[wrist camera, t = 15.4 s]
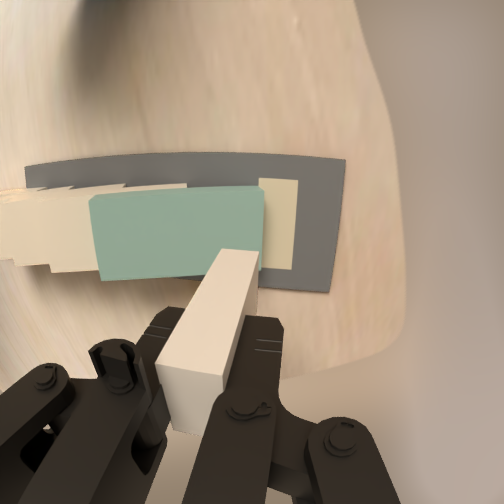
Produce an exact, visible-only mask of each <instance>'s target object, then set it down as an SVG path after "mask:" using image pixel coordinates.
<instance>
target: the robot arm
mask: <svg viewBox="0 0 504 504" xmlns="http://www.w3.org/2000/svg"><path fill="white" fill-rule="evenodd" d="M258 272H259V251H247V250H235V249H221V250H220V252H219V254H218V255H217V257H216V259H215V260H214V262H213V264H212V265H211V267H210V269H209V270H208V272H207V274H206V275H205V277H204V279H203V280H202V282H201V284H200V286H199V287H198V289H197V291H196V292H195V294H194V296H193V297H192V299H191V301H190V303H189V304H188V306H187V308H186V309H183V308H176V307H169V306H168V307H167V308H165V309H164V310H162V311H161V312H159V313H158V314H156V316H155V317H154V319H153V320H152V322H151V323H150V326H148V327H147V329H146V330H145V332H144V335H142V336H141V338H140V339H139V341H138V342H137V344H136V345H135V344H134V343H133V342H130V341H128V340H125V339H110V340H104V341H102V342H100V343H98V344H95V345H94V346H93V347H92V348H91V349H90V350H88V352H89V355H90V357H91V360H92V362H93V365H94V367H95V370H96V372H97V375H98V377H97V379H77V378H70V377H69V375H68V373H67V371H66V370H65V369H64V367H63V366H61V365H58V364H56V363H46V364H42V365H39V366H37V367H36V368H34V369H32V370H31V371H30V372H29V373H27V374H26V375H25V376H23V377H22V378H21V379H20V380H18V381H17V382H16V383H15V384H13V385H12V386H11V387H10V388H8V389H7V390H6V391H5V392H4V393H3V394H1V395H0V504H145V501H146V498H147V496H148V493H149V490H150V488H151V485H152V483H153V480H154V478H155V475H156V472H157V470H158V467H159V465H160V462H161V459H162V457H163V454H164V452H165V449H166V447H167V437H166V435H165V431H166V429H167V427H168V424H169V422H170V421H171V424H172V427H173V430H175V431H180V432H184V433H189V434H193V435H198V436H203V438H202V441H201V444H200V448H199V451H198V454H197V457H196V460H195V463H194V467H193V470H192V473H191V476H190V479H189V482H188V486H187V488H186V492H185V495H184V498H183V501H182V504H265V498H266V492H267V487H269V488H272V489H275V490H277V491H280V492H283V493H285V494H288V495H291V497H292V502H293V504H401V503H400V501H399V498H398V496H397V493H396V491H395V489H394V486H393V484H392V481H391V479H390V477H389V474H388V472H387V470H386V467H385V465H384V462H383V460H382V458H381V455H380V453H379V451H378V448H377V446H376V444H375V442H374V439H373V437H372V435H371V433H370V432H369V431H368V429H367V428H366V426H364V425H363V424H361V423H360V422H358V421H357V420H354V419H350V418H346V417H332V418H329V419H326V420H323V421H321V422H320V423H318V424H316V423H313V422H310V421H307V420H304V419H301V418H299V417H296V416H294V415H292V414H291V413H290V412H289V411H287V410H286V409H285V408H284V407H283V405H282V404H281V402H280V399H279V394H278V388H279V378H280V367H281V357H282V345H283V333H284V328H283V326H282V325H281V323H280V321H279V319H278V318H272V317H262V316H256V312H257V295H258ZM47 424H48V425H49V426H50V429H43V428H44V427H45V426H46V425H47Z"/></svg>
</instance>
